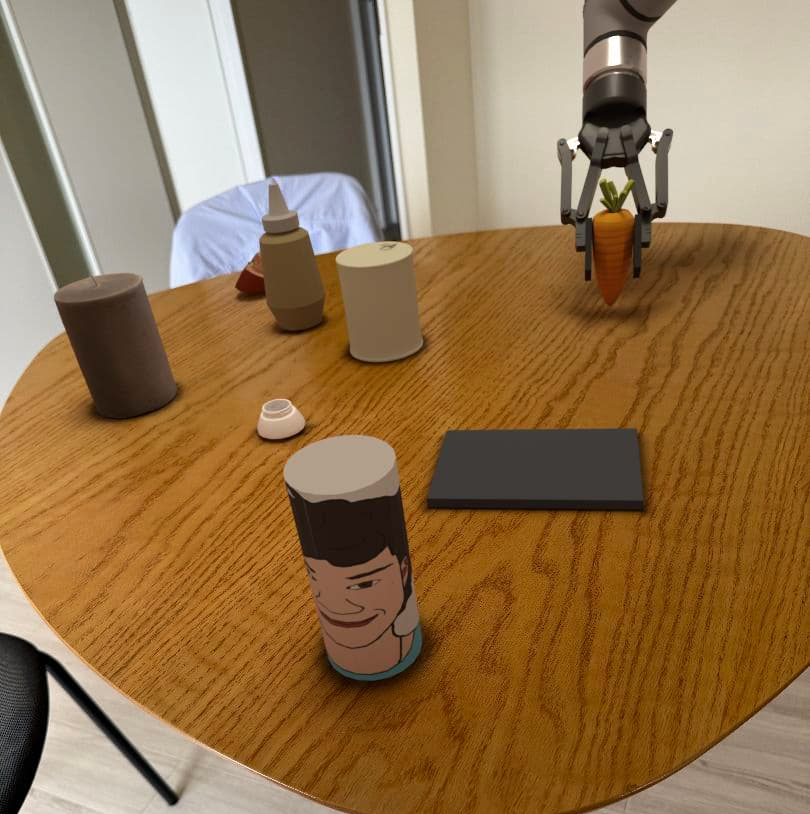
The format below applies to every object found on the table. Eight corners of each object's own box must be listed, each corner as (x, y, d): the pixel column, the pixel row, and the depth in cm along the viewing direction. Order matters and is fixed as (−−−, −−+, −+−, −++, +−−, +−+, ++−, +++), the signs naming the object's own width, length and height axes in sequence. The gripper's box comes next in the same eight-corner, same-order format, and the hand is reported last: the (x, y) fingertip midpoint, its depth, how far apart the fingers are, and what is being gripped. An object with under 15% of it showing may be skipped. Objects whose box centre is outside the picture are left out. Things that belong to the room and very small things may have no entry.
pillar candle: (109, 427, 88) (59, 297, 79) (87, 400, 95) (38, 277, 86) (190, 398, 92) (150, 271, 83) (162, 374, 99) (123, 254, 90)
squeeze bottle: (261, 327, 108) (228, 189, 98) (307, 308, 112) (281, 173, 101) (294, 340, 103) (263, 195, 92) (342, 319, 107) (318, 179, 96)
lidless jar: (256, 425, 84) (262, 446, 80) (250, 400, 83) (255, 421, 79) (301, 415, 85) (309, 435, 81) (296, 390, 83) (304, 410, 79)
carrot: (634, 299, 98) (641, 170, 89) (626, 314, 94) (632, 182, 86) (595, 298, 100) (598, 172, 91) (585, 312, 96) (587, 183, 88)
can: (437, 337, 98) (428, 239, 91) (395, 367, 92) (382, 265, 85) (378, 328, 103) (365, 234, 96) (335, 356, 97) (318, 258, 90)
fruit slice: (246, 283, 125) (238, 252, 122) (287, 280, 124) (280, 248, 121) (231, 302, 118) (223, 269, 115) (274, 299, 117) (267, 265, 114)
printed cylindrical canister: (310, 643, 56) (263, 464, 47) (386, 600, 59) (355, 423, 50) (361, 696, 51) (320, 509, 42) (441, 647, 54) (418, 461, 45)
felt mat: (636, 437, 73) (637, 427, 73) (643, 510, 64) (643, 500, 63) (447, 438, 77) (446, 429, 77) (427, 507, 68) (426, 498, 67)
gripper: (688, 105, 96) (688, 284, 93) (540, 120, 100) (536, 292, 97) (697, 60, 89) (698, 253, 86) (537, 78, 93) (533, 263, 89)
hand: (612, 273), depth 91 cm, fingers closed on carrot, 5 cm apart
